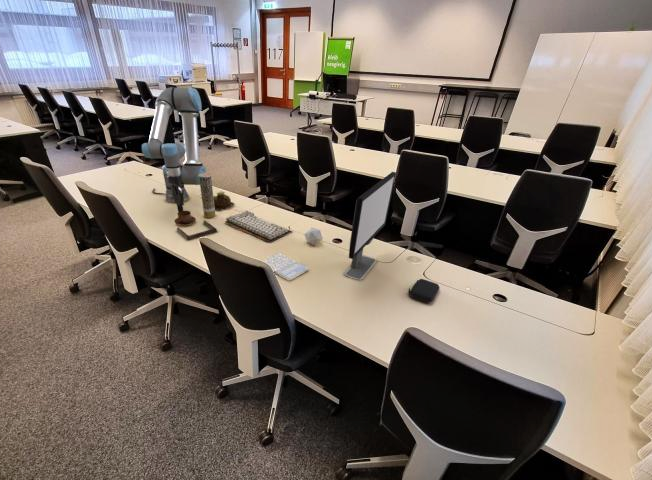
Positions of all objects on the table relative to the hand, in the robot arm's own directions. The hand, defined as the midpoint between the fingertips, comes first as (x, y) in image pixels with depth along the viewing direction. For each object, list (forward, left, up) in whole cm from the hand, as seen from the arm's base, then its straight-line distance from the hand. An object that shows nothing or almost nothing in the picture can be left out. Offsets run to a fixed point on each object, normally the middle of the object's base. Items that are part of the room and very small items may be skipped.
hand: (181, 215), depth 194 cm
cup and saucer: (+4, 0, -3) cm, 5 cm away
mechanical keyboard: (+34, +30, -3) cm, 45 cm away
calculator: (+78, +15, -3) cm, 79 cm away
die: (+68, +43, -3) cm, 81 cm away
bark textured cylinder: (+4, +16, -3) cm, 17 cm away
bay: (+18, 0, -3) cm, 18 cm away
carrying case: (+130, +50, -3) cm, 139 cm away
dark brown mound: (-6, +30, -3) cm, 31 cm away
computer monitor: (+100, +45, -3) cm, 110 cm away
